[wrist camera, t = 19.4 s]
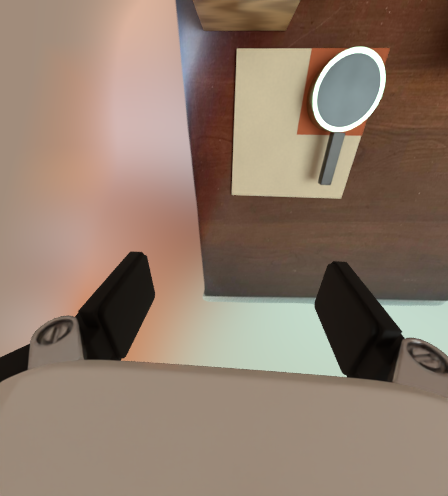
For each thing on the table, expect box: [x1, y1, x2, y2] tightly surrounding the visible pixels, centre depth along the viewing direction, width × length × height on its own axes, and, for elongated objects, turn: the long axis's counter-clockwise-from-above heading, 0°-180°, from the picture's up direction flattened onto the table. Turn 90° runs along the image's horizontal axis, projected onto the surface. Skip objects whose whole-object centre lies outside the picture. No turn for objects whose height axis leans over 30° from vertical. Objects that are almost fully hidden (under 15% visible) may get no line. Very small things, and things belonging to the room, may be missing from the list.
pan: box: [306, 46, 386, 185], centre depth 32 cm, size 18×10×4 cm, turn 179°
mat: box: [232, 48, 390, 198], centre depth 35 cm, size 22×22×1 cm
